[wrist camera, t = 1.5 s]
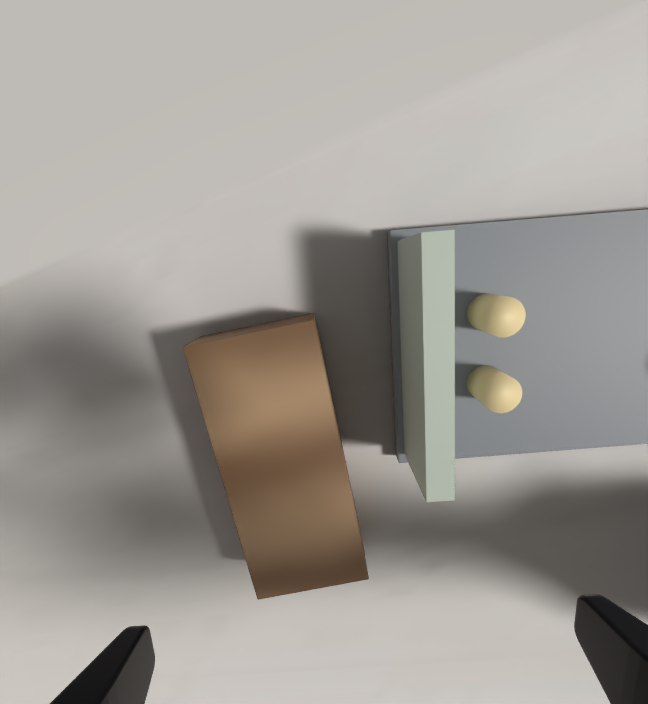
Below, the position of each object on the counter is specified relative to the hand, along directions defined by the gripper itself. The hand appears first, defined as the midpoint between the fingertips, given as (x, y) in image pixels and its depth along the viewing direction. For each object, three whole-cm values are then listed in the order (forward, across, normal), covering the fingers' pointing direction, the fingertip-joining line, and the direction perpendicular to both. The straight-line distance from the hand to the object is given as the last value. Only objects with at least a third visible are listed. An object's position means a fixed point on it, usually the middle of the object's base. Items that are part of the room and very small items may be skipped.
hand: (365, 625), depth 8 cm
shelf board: (+13, +3, +2) cm, 14 cm away
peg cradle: (+12, -13, -3) cm, 18 cm away
